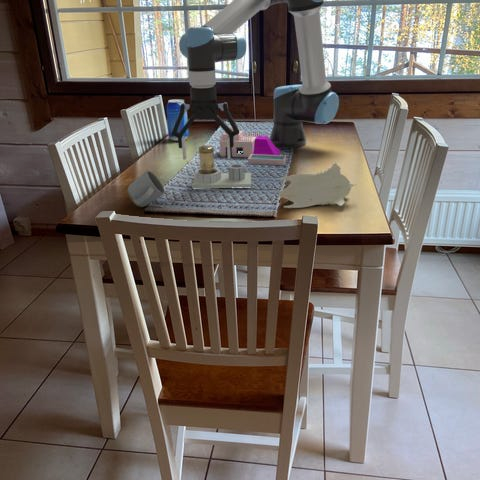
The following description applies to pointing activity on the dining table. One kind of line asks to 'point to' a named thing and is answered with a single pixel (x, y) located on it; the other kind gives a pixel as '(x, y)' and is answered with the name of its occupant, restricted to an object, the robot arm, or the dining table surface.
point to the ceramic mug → (145, 189)
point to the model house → (253, 148)
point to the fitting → (206, 159)
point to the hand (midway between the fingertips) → (206, 158)
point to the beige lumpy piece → (316, 188)
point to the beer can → (175, 117)
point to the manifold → (223, 178)
